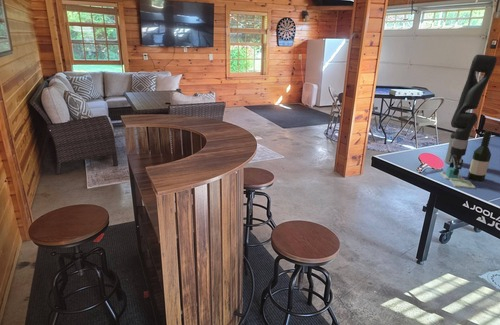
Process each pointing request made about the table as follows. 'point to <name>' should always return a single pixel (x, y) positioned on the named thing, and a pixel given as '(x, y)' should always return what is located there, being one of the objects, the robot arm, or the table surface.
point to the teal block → (451, 173)
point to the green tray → (462, 183)
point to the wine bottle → (480, 159)
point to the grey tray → (451, 178)
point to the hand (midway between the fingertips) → (453, 172)
